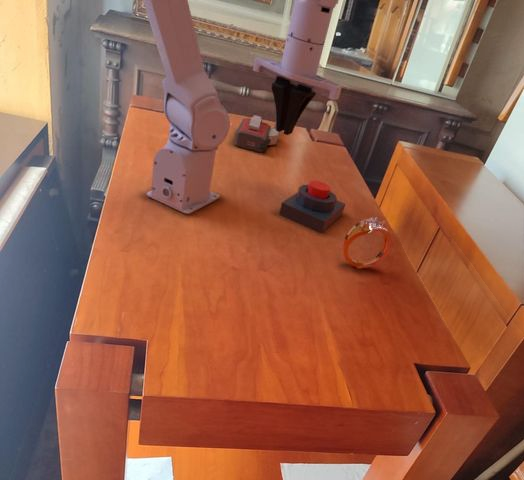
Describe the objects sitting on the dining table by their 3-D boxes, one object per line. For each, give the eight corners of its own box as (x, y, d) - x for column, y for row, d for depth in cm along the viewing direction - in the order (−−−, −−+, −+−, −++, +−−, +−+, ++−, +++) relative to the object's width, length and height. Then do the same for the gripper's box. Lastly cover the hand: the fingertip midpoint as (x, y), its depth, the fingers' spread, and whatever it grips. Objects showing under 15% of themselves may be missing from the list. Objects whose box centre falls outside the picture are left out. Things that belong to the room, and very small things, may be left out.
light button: (322, 202, 80) (325, 192, 79) (303, 194, 81) (306, 184, 80) (330, 196, 83) (333, 186, 82) (311, 188, 84) (314, 178, 83)
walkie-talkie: (272, 158, 101) (280, 130, 117) (277, 136, 98) (285, 111, 114) (231, 147, 101) (245, 121, 116) (235, 125, 98) (248, 101, 113)
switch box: (321, 233, 80) (328, 210, 77) (278, 214, 82) (284, 192, 79) (341, 215, 87) (349, 194, 84) (302, 198, 89) (308, 177, 86)
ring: (337, 269, 72) (355, 220, 67) (334, 258, 74) (351, 209, 69) (381, 276, 73) (402, 229, 68) (377, 265, 76) (397, 218, 70)
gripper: (358, 52, 74) (331, 142, 83) (275, 24, 78) (257, 113, 86) (342, 55, 69) (315, 150, 78) (254, 24, 72) (238, 120, 81)
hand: (284, 131), depth 82 cm, fingers closed
